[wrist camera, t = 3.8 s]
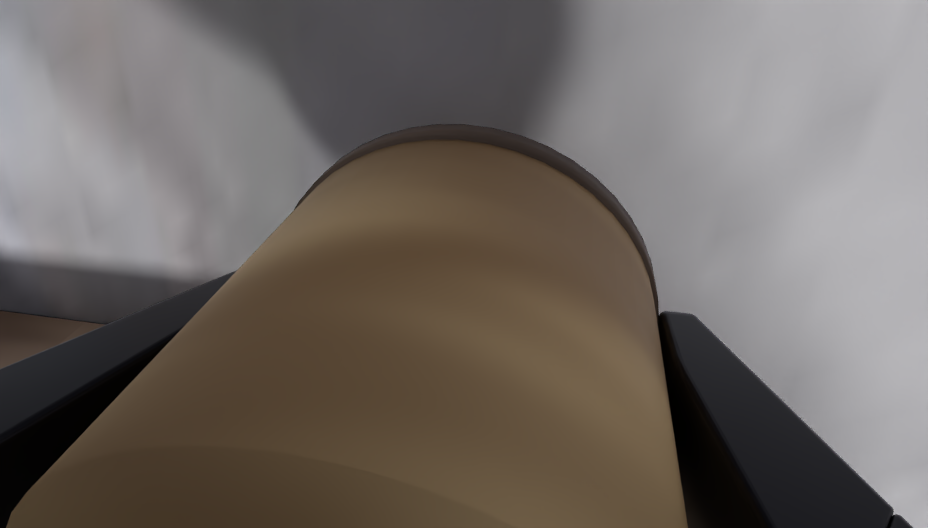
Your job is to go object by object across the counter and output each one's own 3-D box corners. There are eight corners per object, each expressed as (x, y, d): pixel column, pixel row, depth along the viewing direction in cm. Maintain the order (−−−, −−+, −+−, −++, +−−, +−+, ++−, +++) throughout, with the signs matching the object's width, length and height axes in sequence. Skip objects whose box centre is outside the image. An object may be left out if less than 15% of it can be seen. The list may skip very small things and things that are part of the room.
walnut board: (579, 387, 13) (577, 460, 11) (539, 661, 19) (534, 734, 18) (-175, 287, 16) (-265, 333, 14) (5, 552, 22) (-43, 606, 21)
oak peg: (675, 95, 8) (858, 536, 3) (620, 379, 11) (648, 891, 5) (315, 75, 9) (-153, 376, 3) (348, 345, 12) (123, 758, 6)
